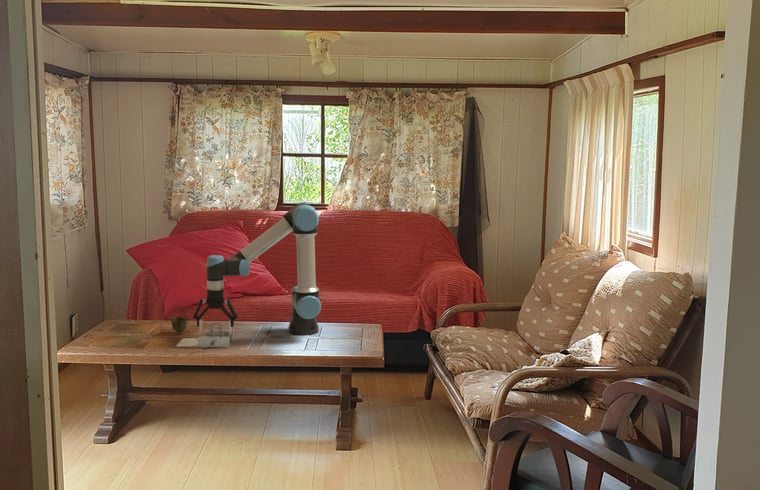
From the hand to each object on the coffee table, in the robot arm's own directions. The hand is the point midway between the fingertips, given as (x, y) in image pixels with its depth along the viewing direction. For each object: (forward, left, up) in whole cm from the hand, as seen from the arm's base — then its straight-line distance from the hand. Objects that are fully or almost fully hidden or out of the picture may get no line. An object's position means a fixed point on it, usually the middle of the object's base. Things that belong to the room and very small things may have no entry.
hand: (215, 333), depth 321 cm
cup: (+21, -16, -5) cm, 27 cm away
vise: (0, +1, -5) cm, 5 cm away
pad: (+12, 0, -5) cm, 13 cm away
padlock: (0, 0, -5) cm, 5 cm away
